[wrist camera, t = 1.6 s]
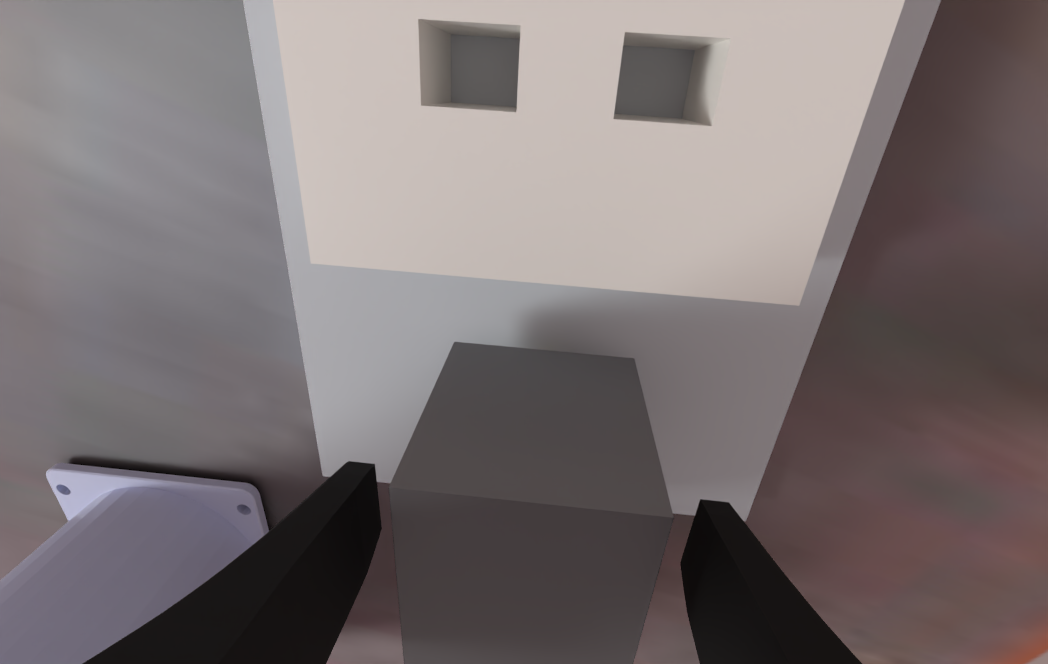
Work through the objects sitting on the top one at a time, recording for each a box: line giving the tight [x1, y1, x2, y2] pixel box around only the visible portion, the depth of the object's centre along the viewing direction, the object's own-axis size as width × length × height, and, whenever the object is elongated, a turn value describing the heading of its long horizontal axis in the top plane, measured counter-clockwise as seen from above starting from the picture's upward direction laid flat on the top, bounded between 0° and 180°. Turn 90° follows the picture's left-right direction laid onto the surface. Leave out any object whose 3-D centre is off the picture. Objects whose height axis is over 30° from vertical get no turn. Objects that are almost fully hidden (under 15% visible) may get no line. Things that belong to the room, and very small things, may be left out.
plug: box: [389, 342, 674, 664], centre depth 12 cm, size 4×7×6 cm, turn 176°
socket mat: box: [243, 0, 941, 521], centre depth 12 cm, size 19×14×1 cm
